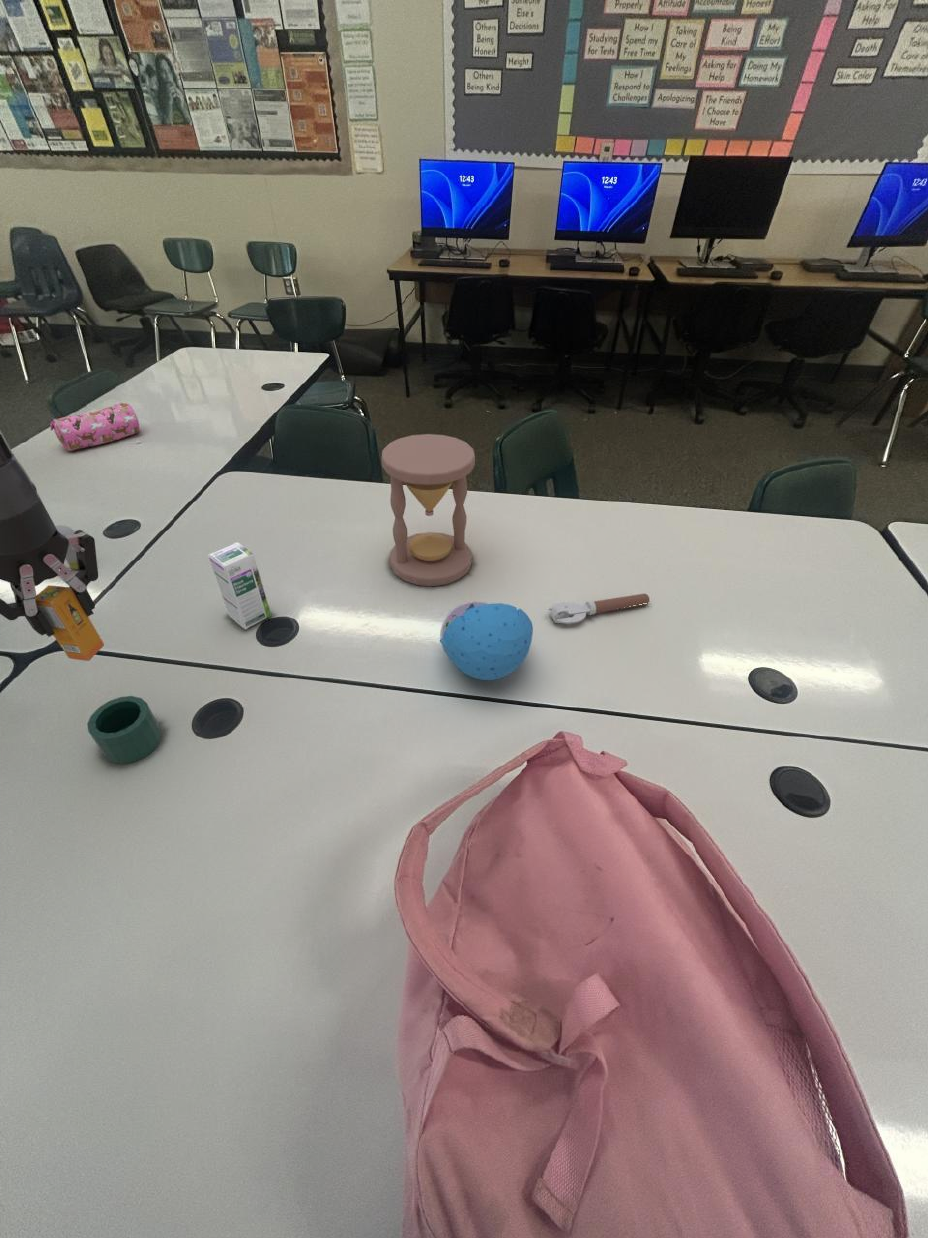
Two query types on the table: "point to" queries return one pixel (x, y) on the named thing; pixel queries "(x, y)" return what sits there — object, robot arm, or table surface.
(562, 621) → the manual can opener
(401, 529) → the hourglass
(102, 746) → the green pipe cap
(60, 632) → the supplement box
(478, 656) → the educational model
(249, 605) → the syrup box
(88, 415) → the pencil case
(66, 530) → the light bulb
